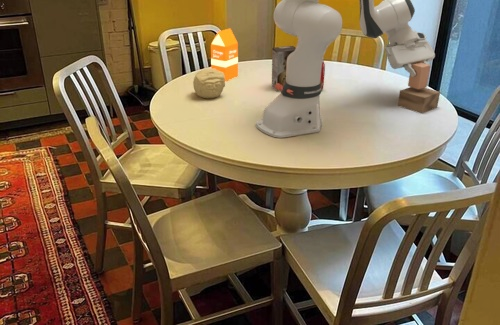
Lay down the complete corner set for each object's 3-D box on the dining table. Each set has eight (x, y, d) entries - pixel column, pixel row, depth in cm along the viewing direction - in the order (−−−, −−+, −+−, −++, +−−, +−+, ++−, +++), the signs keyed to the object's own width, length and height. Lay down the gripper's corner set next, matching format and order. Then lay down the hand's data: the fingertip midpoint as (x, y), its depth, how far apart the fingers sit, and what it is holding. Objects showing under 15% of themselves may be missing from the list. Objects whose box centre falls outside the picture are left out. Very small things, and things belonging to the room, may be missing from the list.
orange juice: (211, 78, 204) (209, 30, 195) (224, 73, 211) (223, 27, 202) (225, 81, 200) (225, 33, 191) (238, 76, 207) (238, 29, 198)
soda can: (322, 93, 188) (325, 63, 182) (304, 92, 189) (306, 62, 184) (323, 87, 194) (326, 58, 189) (306, 86, 195) (308, 57, 190)
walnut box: (421, 114, 170) (424, 97, 167) (397, 106, 176) (400, 90, 174) (437, 107, 175) (440, 91, 173) (413, 100, 182) (415, 85, 179)
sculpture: (200, 102, 178) (198, 74, 173) (190, 93, 187) (188, 65, 182) (228, 98, 182) (228, 70, 177) (217, 89, 192) (216, 62, 187)
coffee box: (291, 84, 197) (293, 45, 190) (297, 89, 192) (300, 49, 184) (270, 86, 195) (271, 47, 187) (276, 91, 189) (277, 51, 182)
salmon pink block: (418, 89, 171) (421, 67, 167) (407, 85, 174) (411, 64, 170) (426, 87, 173) (430, 65, 169) (416, 83, 176) (420, 62, 173)
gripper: (389, 39, 166) (406, 74, 163) (427, 33, 176) (445, 65, 173) (377, 50, 171) (394, 83, 169) (416, 43, 181) (432, 74, 179)
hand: (420, 74), depth 171 cm, fingers closed on salmon pink block, 5 cm apart
